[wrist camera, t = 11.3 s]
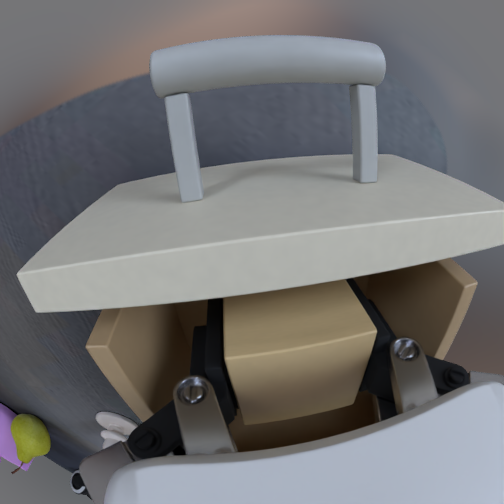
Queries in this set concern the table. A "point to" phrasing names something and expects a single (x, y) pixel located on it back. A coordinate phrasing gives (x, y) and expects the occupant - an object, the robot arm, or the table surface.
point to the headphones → (79, 484)
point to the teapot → (9, 438)
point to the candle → (114, 427)
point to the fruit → (29, 437)
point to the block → (296, 350)
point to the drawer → (263, 233)
